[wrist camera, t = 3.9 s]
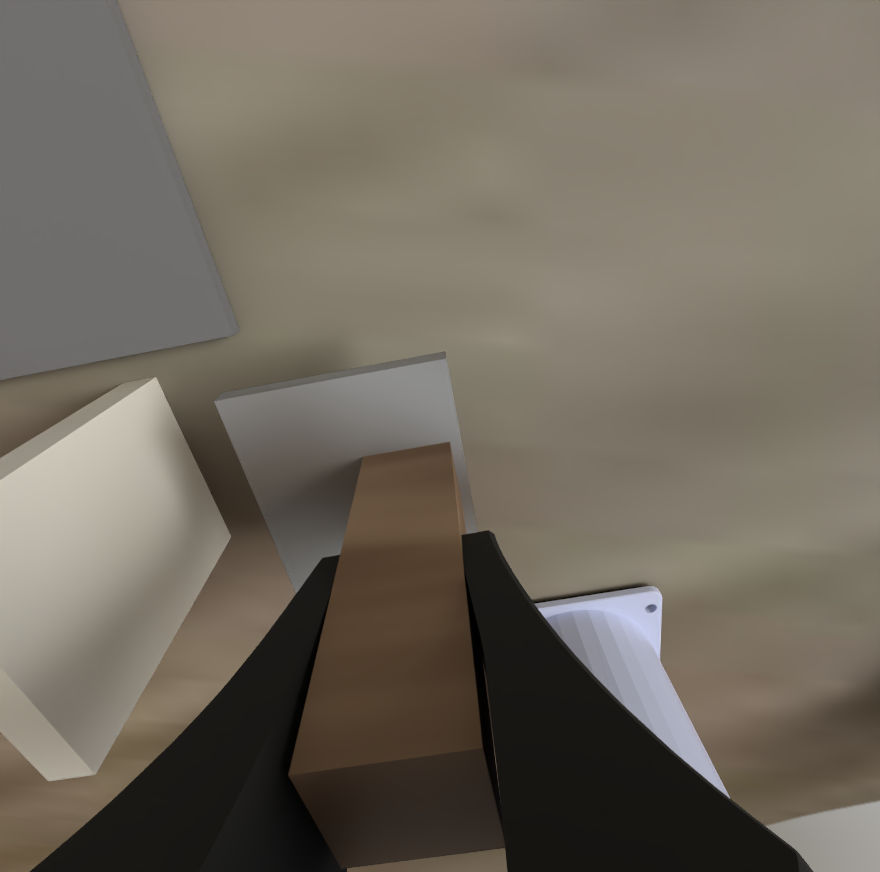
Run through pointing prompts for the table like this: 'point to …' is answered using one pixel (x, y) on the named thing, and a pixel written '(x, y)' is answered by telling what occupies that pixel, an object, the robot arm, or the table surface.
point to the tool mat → (91, 200)
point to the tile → (96, 572)
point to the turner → (379, 605)
